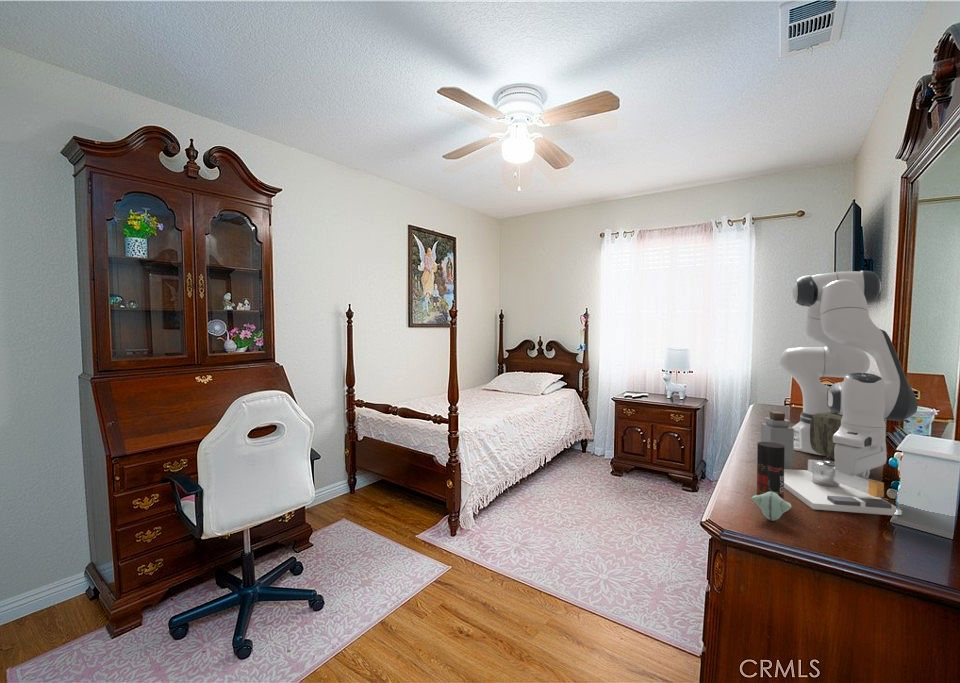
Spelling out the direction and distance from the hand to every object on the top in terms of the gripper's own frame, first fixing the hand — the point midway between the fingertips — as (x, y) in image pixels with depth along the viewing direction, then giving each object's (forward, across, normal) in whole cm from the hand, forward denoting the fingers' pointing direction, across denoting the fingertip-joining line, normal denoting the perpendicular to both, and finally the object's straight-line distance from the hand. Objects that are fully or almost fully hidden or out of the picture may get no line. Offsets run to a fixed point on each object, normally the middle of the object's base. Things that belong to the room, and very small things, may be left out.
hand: (861, 485), depth 112 cm
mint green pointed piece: (+4, +34, -4) cm, 35 cm away
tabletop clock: (+4, -26, -15) cm, 30 cm away
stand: (+4, +2, -7) cm, 9 cm away
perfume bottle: (+4, -10, -26) cm, 28 cm away
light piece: (+2, +1, -4) cm, 4 cm away
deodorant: (+4, +22, -11) cm, 25 cm away
